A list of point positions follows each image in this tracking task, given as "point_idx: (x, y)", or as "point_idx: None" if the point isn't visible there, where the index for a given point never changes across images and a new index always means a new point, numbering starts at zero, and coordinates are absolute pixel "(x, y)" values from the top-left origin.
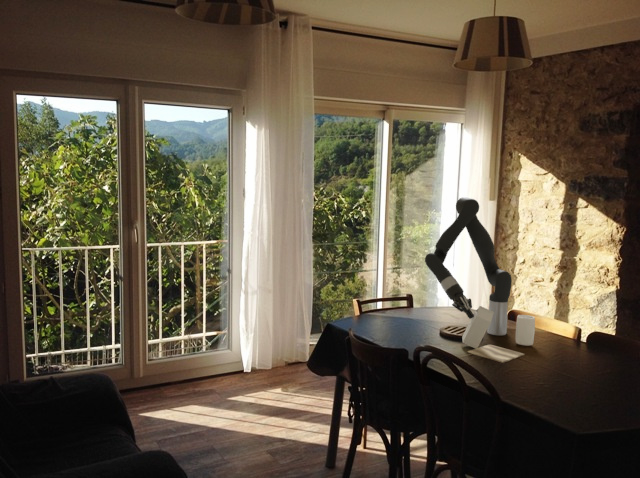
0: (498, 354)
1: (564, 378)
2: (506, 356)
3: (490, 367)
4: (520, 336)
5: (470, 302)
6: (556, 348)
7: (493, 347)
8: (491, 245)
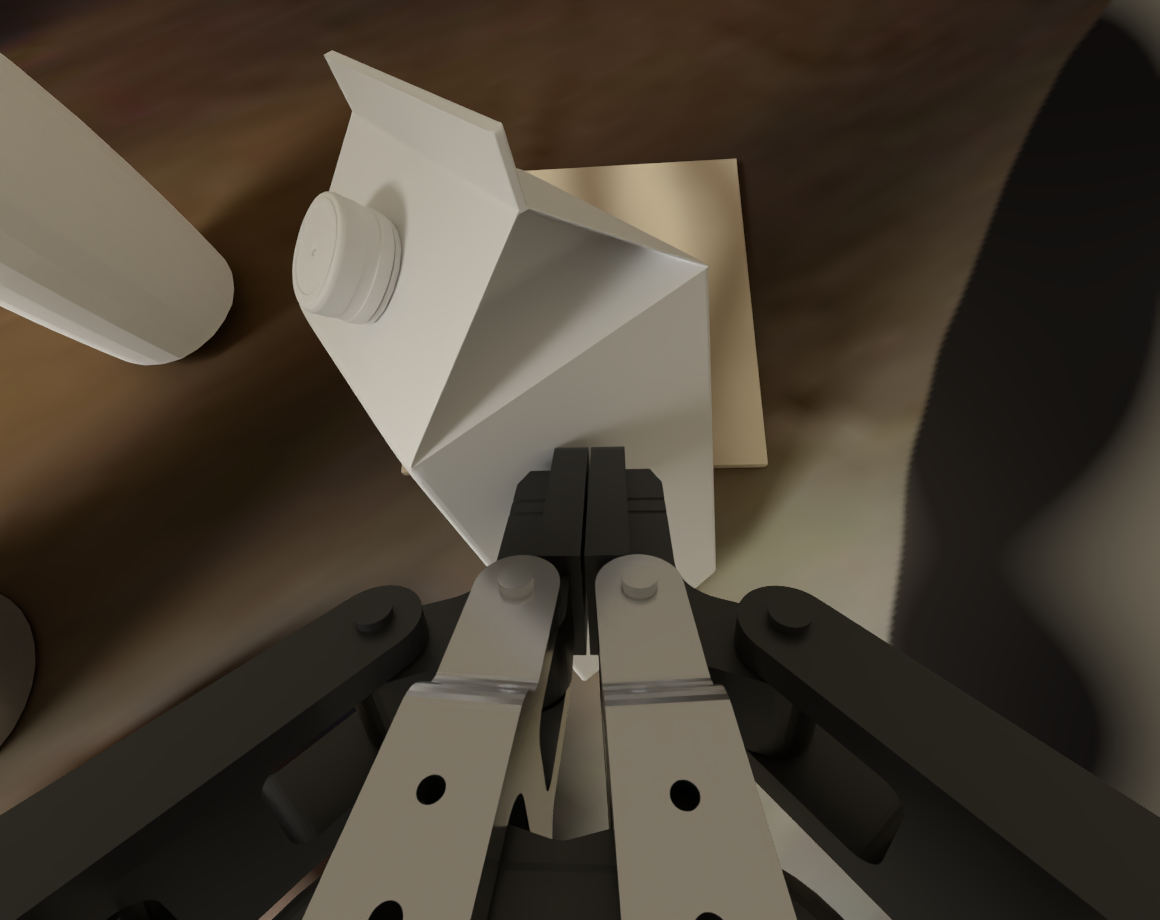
0: None
1: None
2: (601, 208)
3: (904, 157)
4: (180, 250)
5: (127, 786)
6: None
7: None
8: None
